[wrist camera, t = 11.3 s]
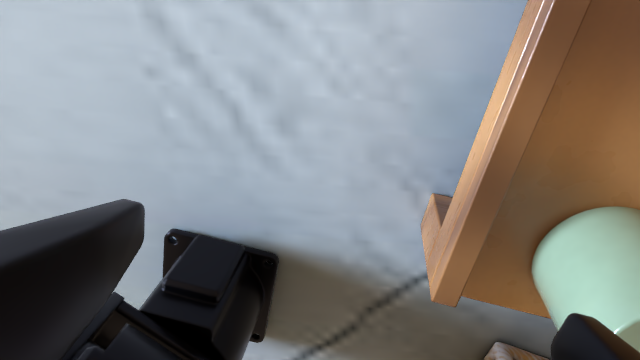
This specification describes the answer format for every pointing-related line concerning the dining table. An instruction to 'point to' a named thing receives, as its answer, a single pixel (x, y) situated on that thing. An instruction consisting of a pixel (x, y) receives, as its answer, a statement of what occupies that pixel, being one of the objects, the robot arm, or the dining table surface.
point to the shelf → (541, 151)
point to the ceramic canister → (593, 269)
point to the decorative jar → (510, 353)
